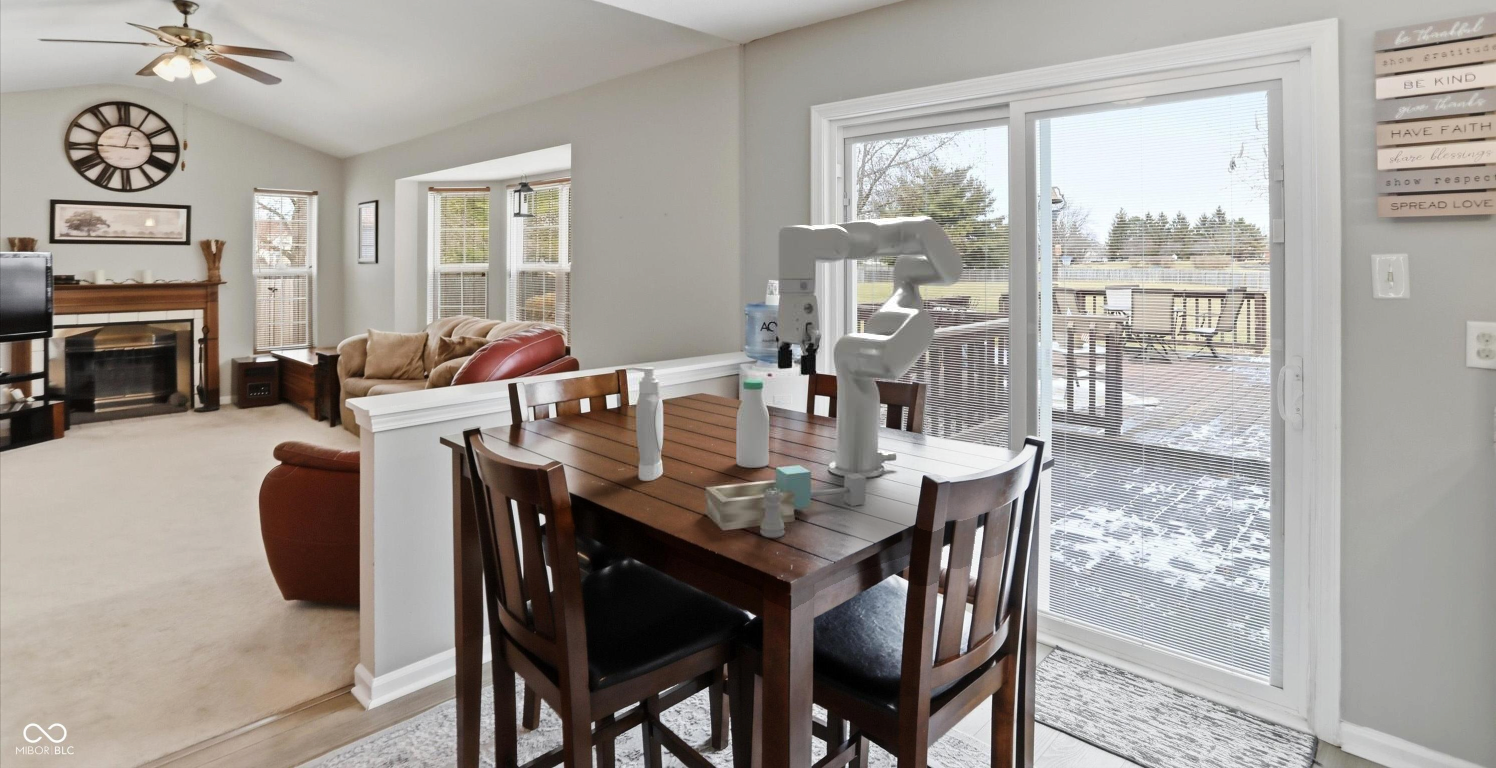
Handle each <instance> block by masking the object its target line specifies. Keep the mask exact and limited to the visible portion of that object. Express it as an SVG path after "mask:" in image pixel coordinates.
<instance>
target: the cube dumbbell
mask: <svg viewBox="0 0 1496 768" xmlns="http://www.w3.org/2000/svg"><path fill="white" fill-rule="evenodd" d="M866 478H867V477H864V476H862V475H860V474H858V473H856V474H847V475H845V476H844V484H843V485H844V487H840V488H839V487H838V488H832V489H831V488H830V489H822V490H814V491H813V490H812V489H811V487H812V485H811V484H812V483H811V482H812V471H810V470H809V469H807V468H805V467H803V466H802V465H800V464H799V465H797V464H796V465H788V466H779V467H775V481H776V488H777V489H779V490H780V493H781V492H789V491H791V492H793V493H794V511H795V510H801V509H802V510H803V509H809V508H811V498H813V497H815V498H816V497H823V496H831V495H838V494H843V495H844V497H843V502H845V503H846V504H847V505H849V506H851V507H853V506H854V507H855V506H861V505H866V484H867V483H866Z"/></svg>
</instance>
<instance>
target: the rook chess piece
mask: <svg viewBox="0 0 1496 768" xmlns="http://www.w3.org/2000/svg"><path fill="white" fill-rule="evenodd" d="M764 497H765V499H766V502H765V505H766V511H765V517H764V519H763V522H762V523H761V525H760V526H759V527H760V530H759V533H760V534H761V536H763V537H765V538H769V539H778V538H781V537H783V536H784V534H785V533H786V530H785V524H784V523H785V522H782V520H781V517H780V510H779V507H780V505H781V503H780V502H779V500H780V498H781V497H782V494H781V493H780V490H779V489H777V488H774V491H772V488H769V491H768V489H766V493H765V494H764Z"/></svg>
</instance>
